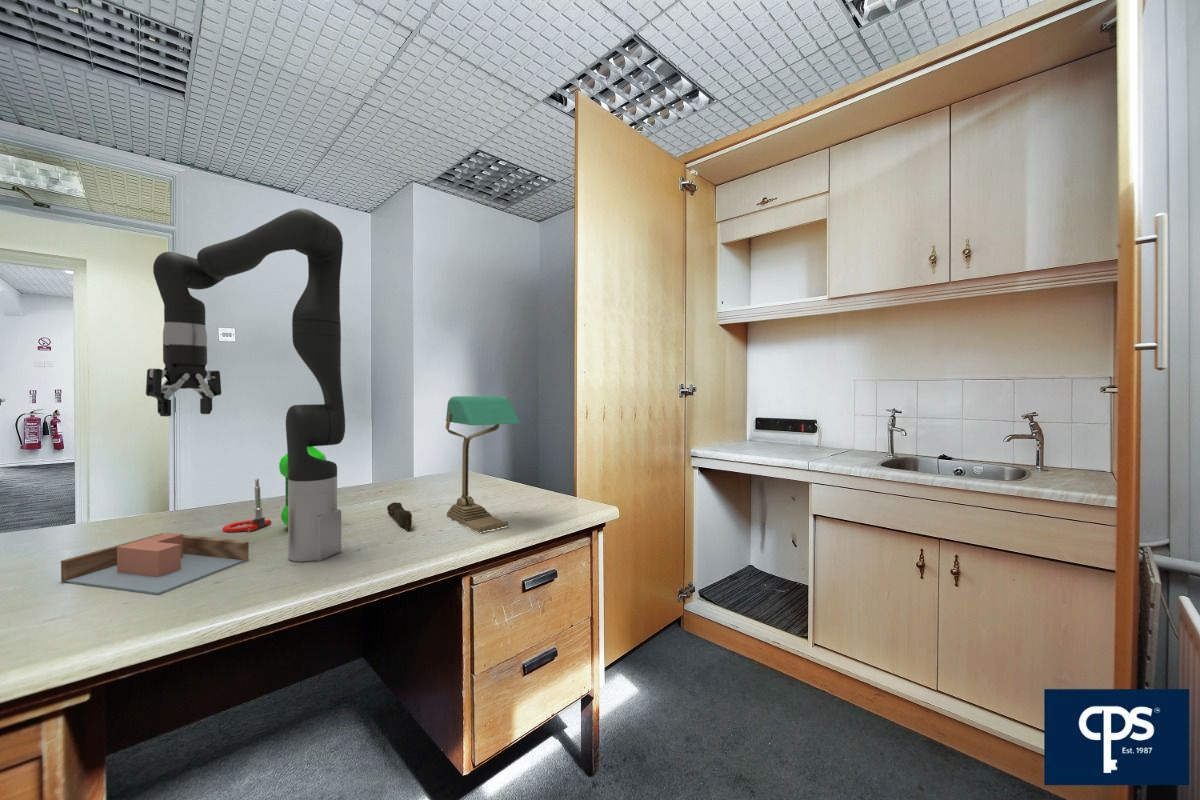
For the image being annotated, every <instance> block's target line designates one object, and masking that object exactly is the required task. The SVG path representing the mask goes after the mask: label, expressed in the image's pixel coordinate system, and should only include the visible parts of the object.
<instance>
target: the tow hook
mask: <svg viewBox="0 0 1200 800" xmlns="http://www.w3.org/2000/svg"><path fill="white" fill-rule="evenodd" d="M259 479H260V478H255V479H254V504H255V505H254V506H255V508H254V511H253V512H254V519H249V520H243V521H236V522H233V523H229V524H227V525H224V526H223V527H222V532H224V533H236V532H237V533H238V532H244V531H247V532H248V531H249V532H248V533H250V531H251V532H253V531H256V530H259V529H258V528H260V529H262V528H264V527H266V526H265V525H267V526H269V525H271V524H272V521H271V519H266V518H265V516H264V515H263V508H262V501H261V500H262V499H261V486H260V480H259ZM243 524H247V525H243ZM268 524H269V525H268ZM238 525H240V526H238ZM235 526H236V527H235ZM263 526H264V527H263ZM232 527H233V528H232ZM261 527H262V528H261ZM255 529H256V530H255Z"/></svg>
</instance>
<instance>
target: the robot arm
mask: <svg viewBox="0 0 1200 800" xmlns="http://www.w3.org/2000/svg"><path fill="white" fill-rule="evenodd" d="M343 248H344V242H343V236H342V233H341V230H340V229H339V228H338V227H337V225H335V224H334V223H333V222H332V221H330V220H328V219H326V218H324V217H323V216H322V215H319V214H318V213H316V212H314V211H312V210H309V209H307V208H296V209H293V210H289V211H287V212H285V213H283V214H281V215H279V216H277V217H275V218H274V219H272V220H270V221H268V222H266V223H264V224H262V225H260V226H258V227H256V228H254V229H253V230H250V231H248V232H247V233H244V234H242V235H239V236H237V237H234V238H231V239H228V240H224V241H221V242H218V243H214V244H212V245H208V246H206V247H202V248H201V249H200V250H199V251H198V253H197V254H196V255H197V256H196V258H194V257H193V256H192V257H191V256H188V255H185V254H182V253H177V252H173V251H164V252H162V253H160V254H159V255H158V256H157V257H156V258H155V260H154V263H153V266H152V271H153V277H154V280H155V283H156V286H157V288H158V291H159V295H160V298H161V300H162V302H163V317H164V318H163V322H164V323H163V329H162V362H163V364H164V369H161V368H148V369H147V370H146V383H145V385H146V386H145V395H146V396H147V397H152V398H155V399H156V401H157V413H158V414H159V416H160V417H171V416H172V399H170V398H171V397H172V395H174V393H176V392H178V390H180V389H183V390H184V389H192V390H193V391H194V392H196V393H197V394H198V395H199V396H200V398H199V410H200V411H199V412H200V414H201V415H210V414H211V412H212V411H213V398H214V397H216V396H221V395H222V385H221V384H222V383H221V382H222V381H221V371H220V370H206V366H207V364H208V334H207V329H206V327H207V326H206V306H205V303H204V302H203V301H202V300H200V299H198V298H196V297H195V296H193V295H191V293H190V290H189V289H192V290H206V289H210V288H213V287H214V286H215V285H217V284H218V283H221V282H222V281H223V280H224V279H225V278H228V277H233V276H237V275H239V274H243V273H245V272H249V271H251V270H253V269H255V268H256V267H258V266H259V265H260V264H261V263H262V262H263V260H264V259H265V258H267V256H269V255H270V254H273V253H276V252H281V251H282V252H283V251H290V250H291V251H293V250H294V251H296V252H298V253H301V254H302V255H304V256H306V257H307V265H308V270H307V271H308V277H307V282H306V287H305V289H304V291H303V292H302V294H301V295H300V297H299V298H298V300H297V302H296V305H295V306H294V308H293V311H292V319H291V320H292V321H291V322H292V323H291V325H292V327H291V332H292V345H293V347H294V349H295V351H296V353H297V355H298V356H299V357H300V359H301V360H302V362H304V364H305V365H306V367H307V368H308V369H309V370H310V371H311V373H312V375H313V376H314V377H315V380H316V381H317V382H318V385H319V387H320V389H321V392H322V393H321V394H322V397H323V401H324V403H321V404H319V403H318V404H312V403H311V404H295V405H293V404H292V405H291V406H290V407H289V408H288V410H287V412H286V416H285V434H286V435H285V437H286V448H287V449H286V450H287V452H286V453H288V526H287V531H288V532H287V543H288V544H287V545H288V547H287V549H288V550H287V551H288V552H287V553H288V554H287V555H288V560H290V561H293V562H311V561H322V560H325V559H327V558H329V557H331V556H334V555H335V554H338V553H339V552H342V510H341V509H340V508H339V509H338V466H337V463H336V462H334V461H332V460H331V461H330V460H327V459H326V460H322V459H318V458H315V457H313V456H311V455H310V454H309V453H308V451H307V447H312V446H313V447H324V446H326V447H327V446H335V445H339V444H341V443H342V441H343V440H344V438H345V433H346V414H345V413H346V412H345V405H344V394H343V393H344V392H343V385H342V384H343V383H342V367H341V366H342V362H341V360H342V358H341V357H342V356H341V355H342V353H341V352H342V351H341V349H342V348H341V347H342V345H341V343H342V330H341V327H342V326H341V309H340V308H341V290H340V289H341V287H340V286H341V284H340V283H341V271H342V260H343V250H344V249H343ZM164 378H165V381H164V382H163V383H162V380H163V379H164ZM205 379H207V382H206V381H205Z"/></svg>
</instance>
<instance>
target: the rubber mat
mask: <svg viewBox="0 0 1200 800" xmlns="http://www.w3.org/2000/svg"><path fill="white" fill-rule="evenodd" d="M247 560H248V561H249V558H248V559H245V560H236V559H227V558H218V557H209V556H200V555H190V554H183V558H181V569H180V570H177V571H174V572H171V573H168V574H166V575H163V576H160V577H154V576H145V575H136V574H127V573H119V572H117V565H115V566H112V567H108V568H105V569H102V570H99V571H95V572H92V573H89V574H86V575H82V576H79V577H76V578H73V579H69V580H63V582H62V583H65V582H69V583H68V584H73V583H77V584H76V585H80V584H85V585H84V586H88V585H92V586H91V587H95V586H97V587H96V588H103V589H110V590H112V589H113V590H117V591H125V592H126V591H127V592H132V593H133V592H135V593H140V594H142V593H143V594H147V595H148V594H149V595H155V596H158V595H161V594H164V593H167V592H170V591H173V590H176V589H177V588H180V587H183V586H185V585H188V584H190V583H193V582H196V581H199V580H200V579H203V578H206V577H208V576H211V575H214V574H216V573H219V572H222V571H224V570H227V569H229V568H231V567H234V566H236V565H237V566H238V565H240V564H241V563H244V561H245V562H247ZM61 581H62V580H60V582H61ZM64 581H65V582H64Z"/></svg>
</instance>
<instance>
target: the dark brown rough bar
mask: <svg viewBox="0 0 1200 800" xmlns="http://www.w3.org/2000/svg"><path fill="white" fill-rule="evenodd" d="M386 509H387V510H386V511H387V513H388V516H390V517H393V519H394V520H395V521H396V522H397V524H398V525H399V528H400V527H401V528H403V529H405V530H408V531H407V532H411V529H412V525H413V524H412V522H413V520H412V519H413V514H412V512H411V511H410V510H407V509H406V510H405V508H404V507H403V505H402V503H401V502H392V503H390V504H389V505H387V508H386ZM401 528H400V529H401ZM403 529H402V530H403ZM405 530H404V531H405Z"/></svg>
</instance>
